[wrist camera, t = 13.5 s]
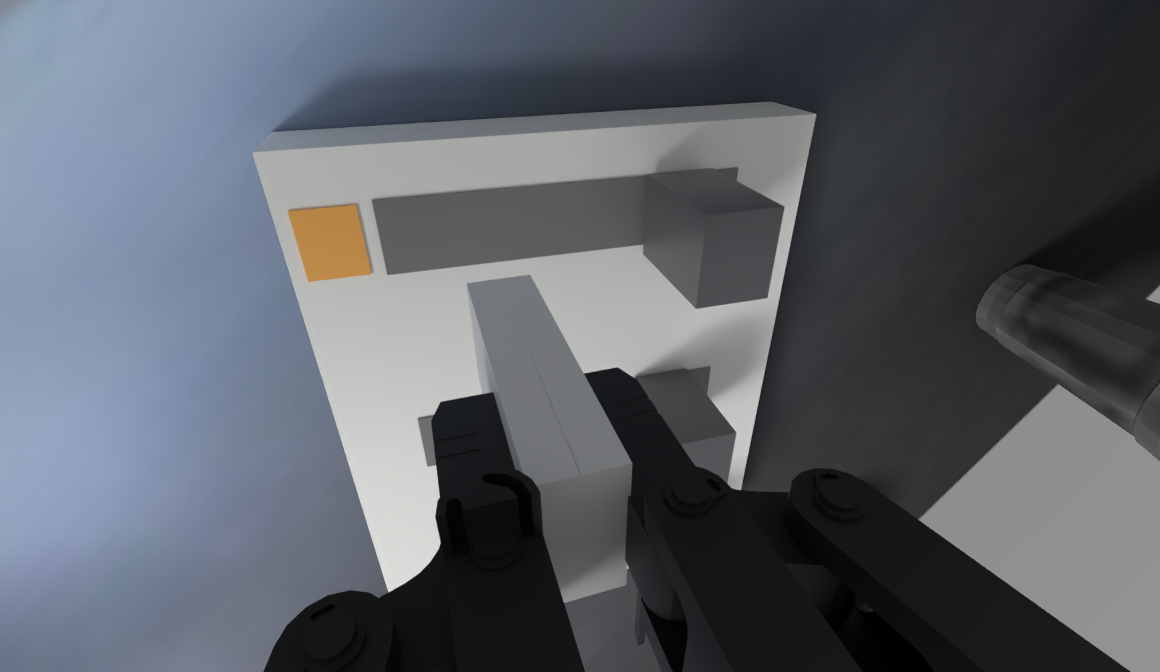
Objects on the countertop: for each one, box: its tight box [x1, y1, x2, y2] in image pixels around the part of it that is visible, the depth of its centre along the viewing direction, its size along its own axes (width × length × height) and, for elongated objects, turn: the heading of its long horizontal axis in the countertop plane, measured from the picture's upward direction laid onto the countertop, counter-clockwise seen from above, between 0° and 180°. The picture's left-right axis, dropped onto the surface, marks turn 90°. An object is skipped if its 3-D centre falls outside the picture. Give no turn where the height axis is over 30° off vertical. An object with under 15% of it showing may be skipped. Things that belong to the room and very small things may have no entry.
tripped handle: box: [643, 168, 785, 309], centre depth 18 cm, size 2×3×4 cm
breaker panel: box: [252, 102, 816, 592], centre depth 24 cm, size 19×24×8 cm
